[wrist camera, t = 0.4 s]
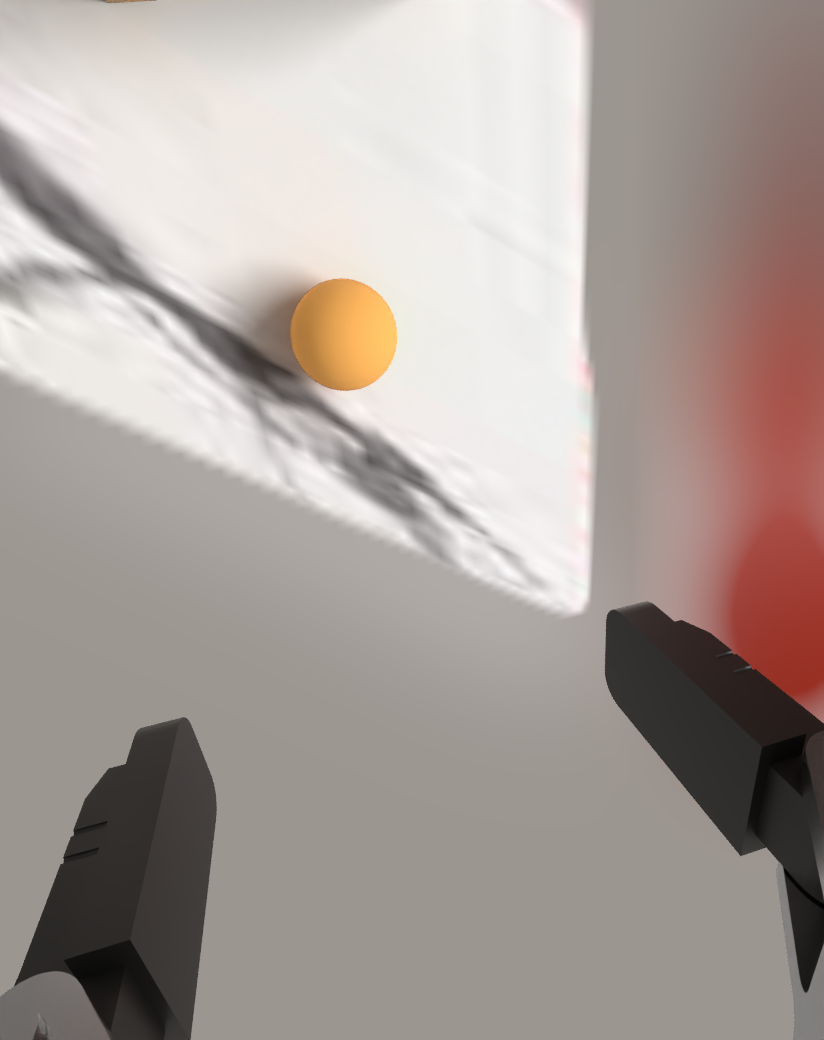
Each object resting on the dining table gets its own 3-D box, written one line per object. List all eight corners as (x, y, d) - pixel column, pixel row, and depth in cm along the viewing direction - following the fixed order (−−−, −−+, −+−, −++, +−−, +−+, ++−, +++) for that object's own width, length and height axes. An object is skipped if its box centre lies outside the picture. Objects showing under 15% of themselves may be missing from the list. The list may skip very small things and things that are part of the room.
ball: (278, 285, 29) (279, 289, 24) (378, 271, 30) (399, 271, 25) (300, 388, 32) (305, 409, 27) (392, 371, 32) (414, 390, 27)
